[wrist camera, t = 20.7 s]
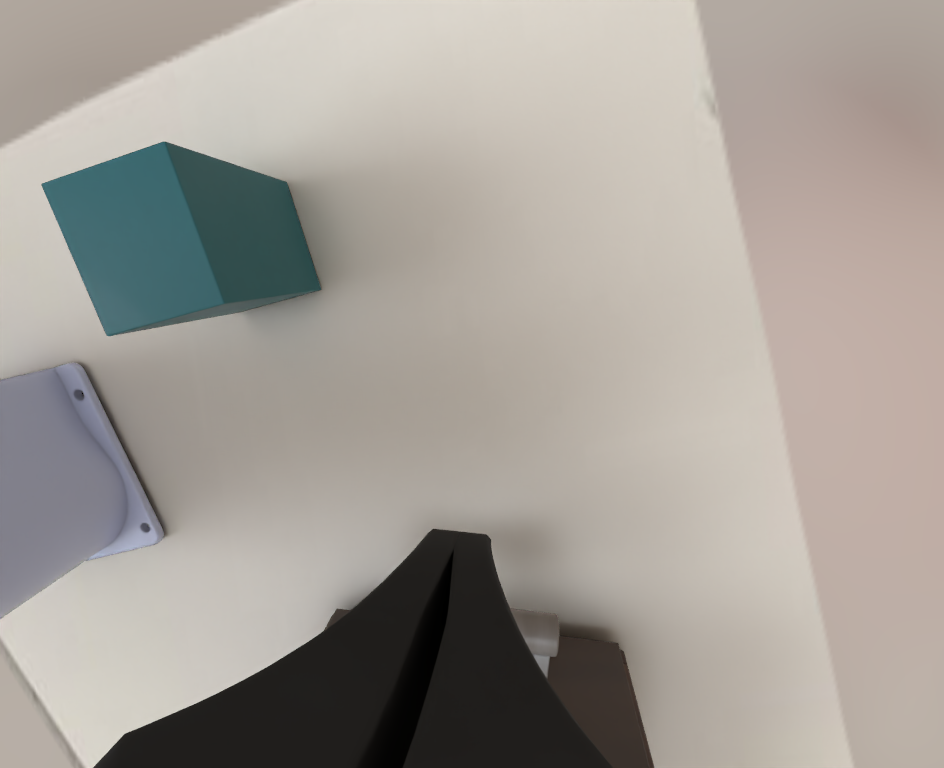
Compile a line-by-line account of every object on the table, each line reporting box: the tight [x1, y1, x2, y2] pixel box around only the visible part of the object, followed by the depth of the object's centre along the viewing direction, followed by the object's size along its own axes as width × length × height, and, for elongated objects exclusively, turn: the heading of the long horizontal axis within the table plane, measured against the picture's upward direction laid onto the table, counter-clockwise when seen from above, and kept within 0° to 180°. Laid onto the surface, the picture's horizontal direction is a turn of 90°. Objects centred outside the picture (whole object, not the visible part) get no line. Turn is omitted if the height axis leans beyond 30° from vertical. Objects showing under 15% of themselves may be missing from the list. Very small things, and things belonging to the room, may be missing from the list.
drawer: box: [326, 609, 650, 768], centre depth 21 cm, size 18×13×6 cm
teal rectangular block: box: [42, 142, 321, 336], centre depth 17 cm, size 4×4×7 cm
